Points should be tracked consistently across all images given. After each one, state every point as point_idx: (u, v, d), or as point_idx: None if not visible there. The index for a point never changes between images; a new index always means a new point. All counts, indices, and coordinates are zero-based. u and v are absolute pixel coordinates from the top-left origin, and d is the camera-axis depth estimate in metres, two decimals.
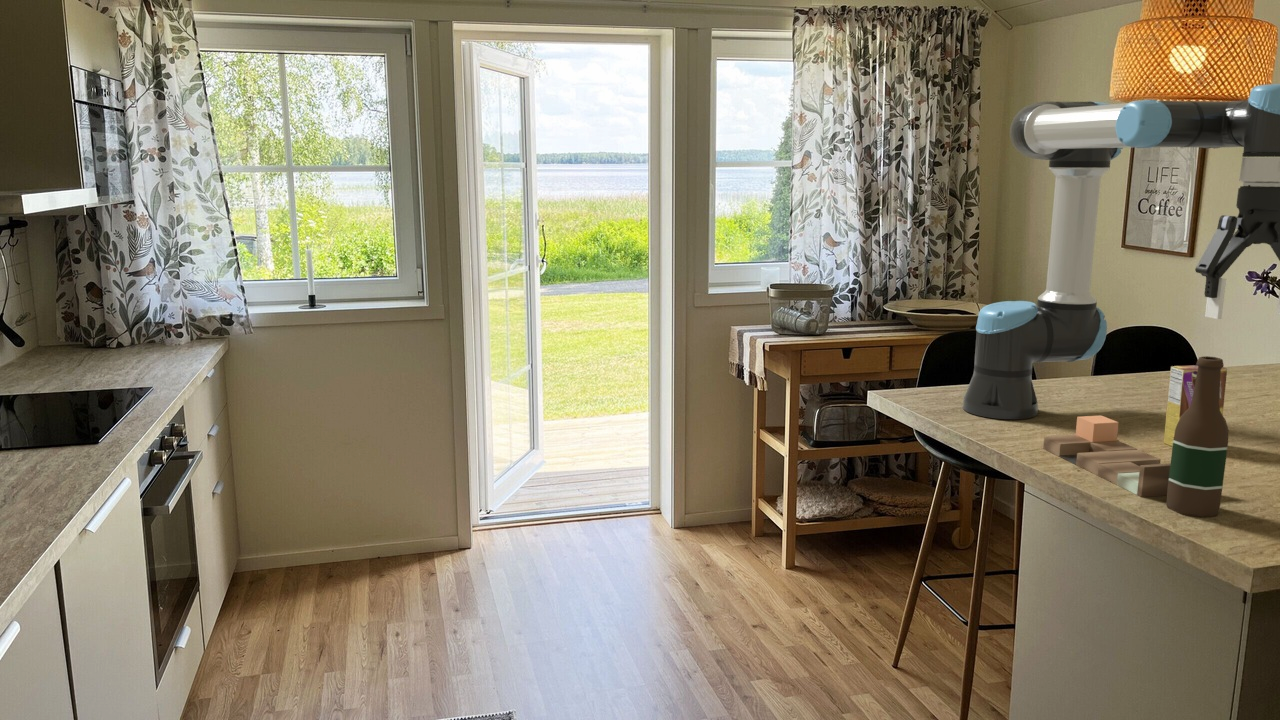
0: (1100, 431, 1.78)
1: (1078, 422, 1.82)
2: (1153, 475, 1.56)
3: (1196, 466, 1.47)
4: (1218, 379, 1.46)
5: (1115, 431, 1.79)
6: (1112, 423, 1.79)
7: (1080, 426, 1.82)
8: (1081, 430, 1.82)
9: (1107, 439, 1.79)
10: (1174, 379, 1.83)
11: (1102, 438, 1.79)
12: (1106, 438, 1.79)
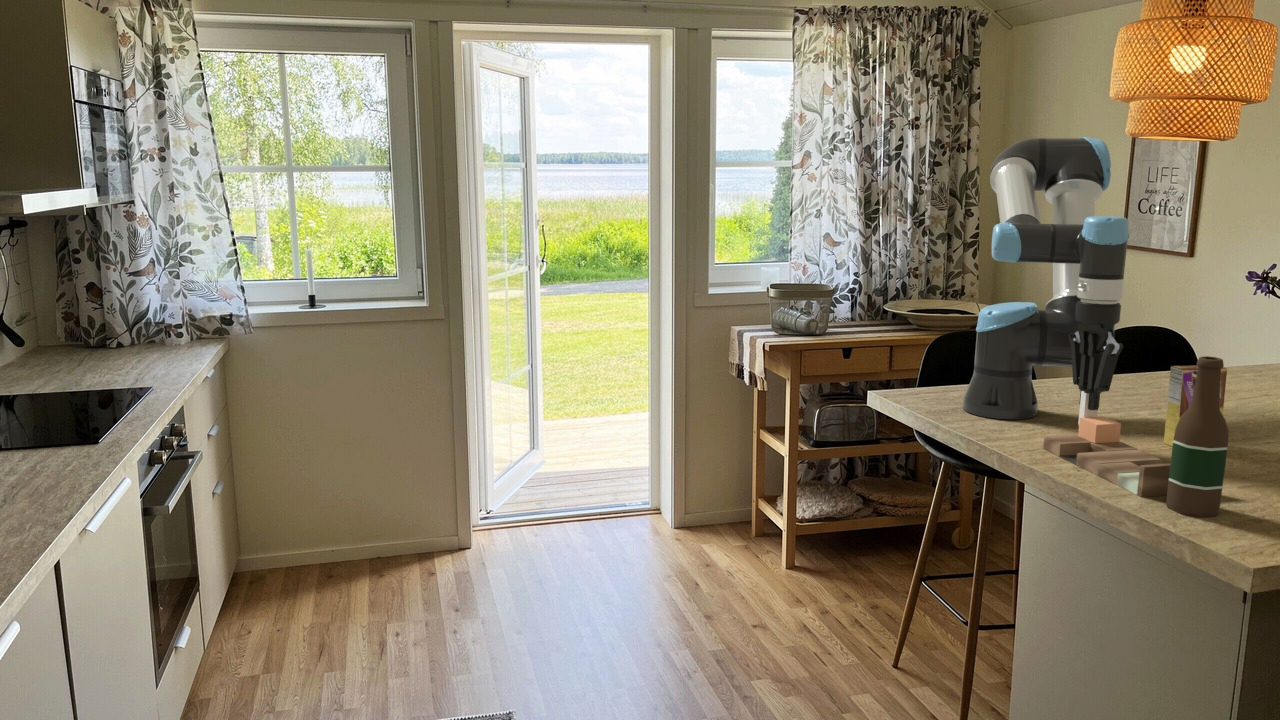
0: (1102, 432, 1.78)
1: (1080, 423, 1.82)
2: (1153, 475, 1.56)
3: (1196, 466, 1.47)
4: (1218, 379, 1.46)
5: (1117, 432, 1.78)
6: (1115, 424, 1.78)
7: (1083, 427, 1.81)
8: (1083, 431, 1.81)
9: (1110, 440, 1.78)
10: (1174, 378, 1.83)
11: (1104, 439, 1.78)
12: (1109, 439, 1.78)
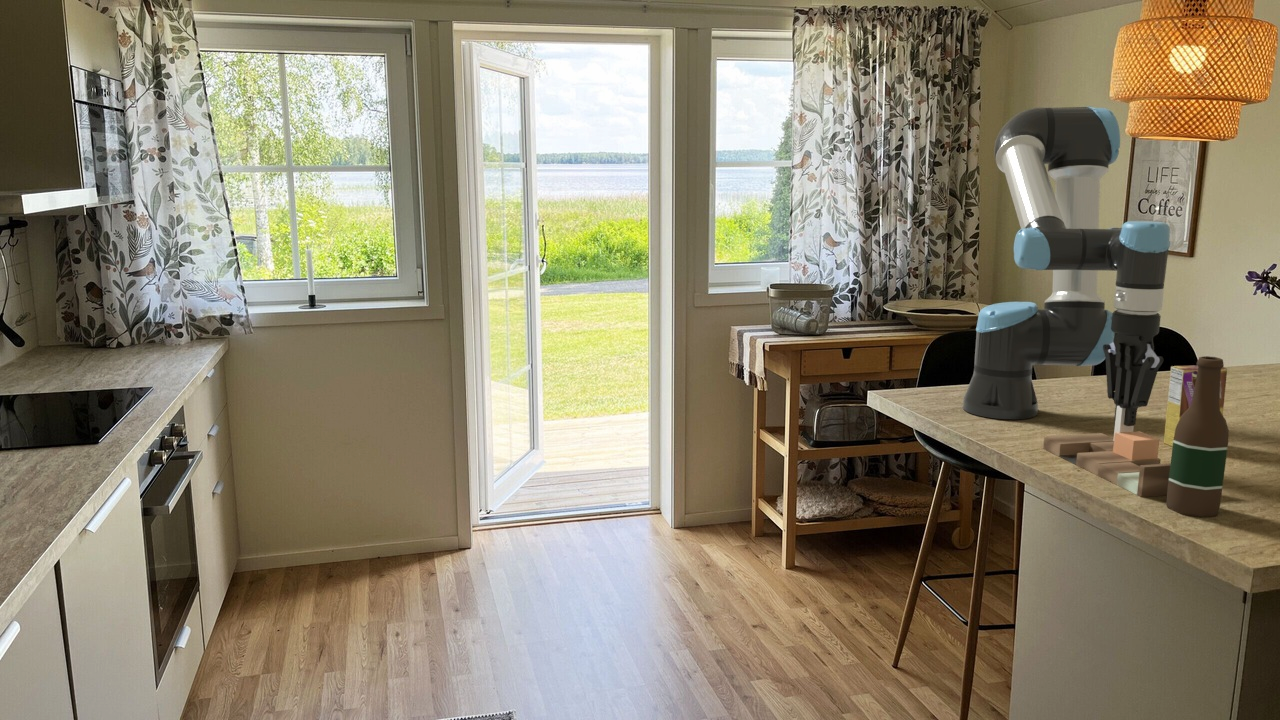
0: (1140, 448, 1.68)
1: (1116, 439, 1.72)
2: (1153, 475, 1.56)
3: (1196, 466, 1.47)
4: (1218, 379, 1.46)
5: (1155, 449, 1.69)
6: (1153, 440, 1.69)
7: (1118, 443, 1.72)
8: (1119, 447, 1.72)
9: (1147, 457, 1.69)
10: (1174, 378, 1.83)
11: (1142, 456, 1.69)
12: (1146, 456, 1.69)
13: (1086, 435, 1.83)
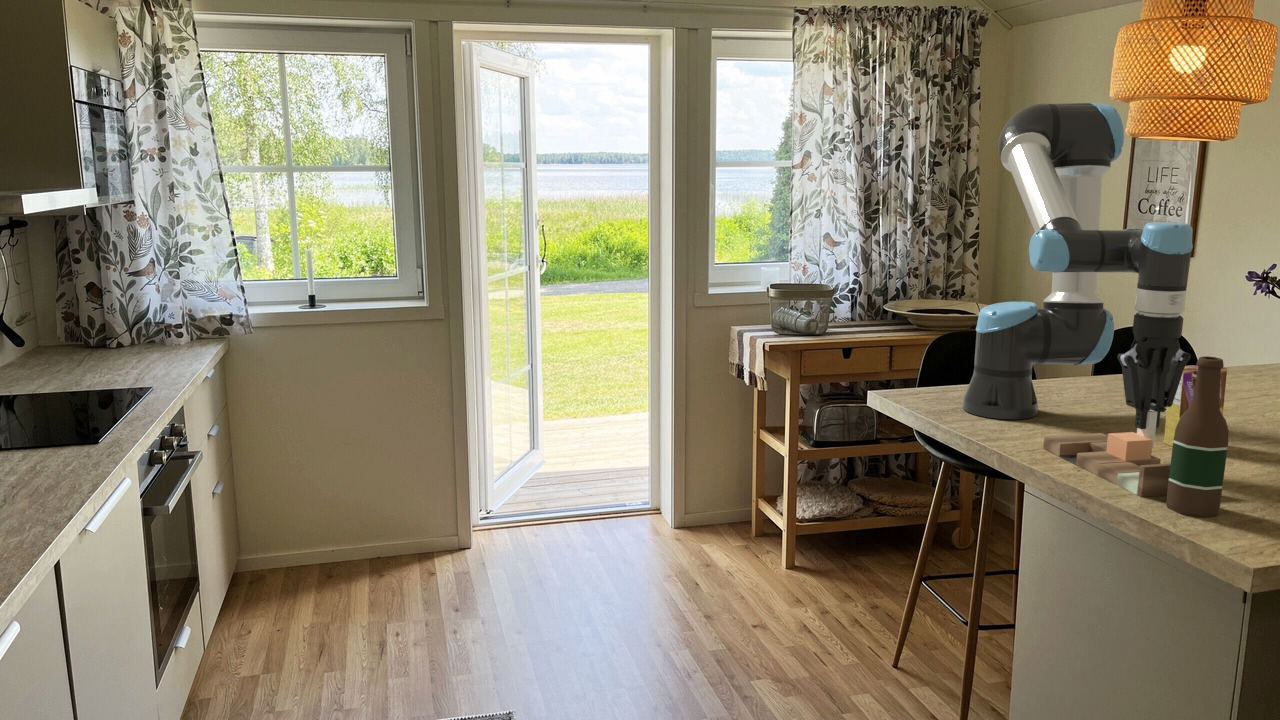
0: (1133, 449, 1.68)
1: (1109, 439, 1.72)
2: (1153, 475, 1.56)
3: (1196, 466, 1.47)
4: (1218, 379, 1.46)
5: (1149, 449, 1.69)
6: (1146, 441, 1.68)
7: (1111, 444, 1.71)
8: (1112, 448, 1.71)
9: (1141, 458, 1.69)
10: None
11: (1135, 457, 1.68)
12: (1140, 456, 1.69)
13: (1086, 435, 1.83)
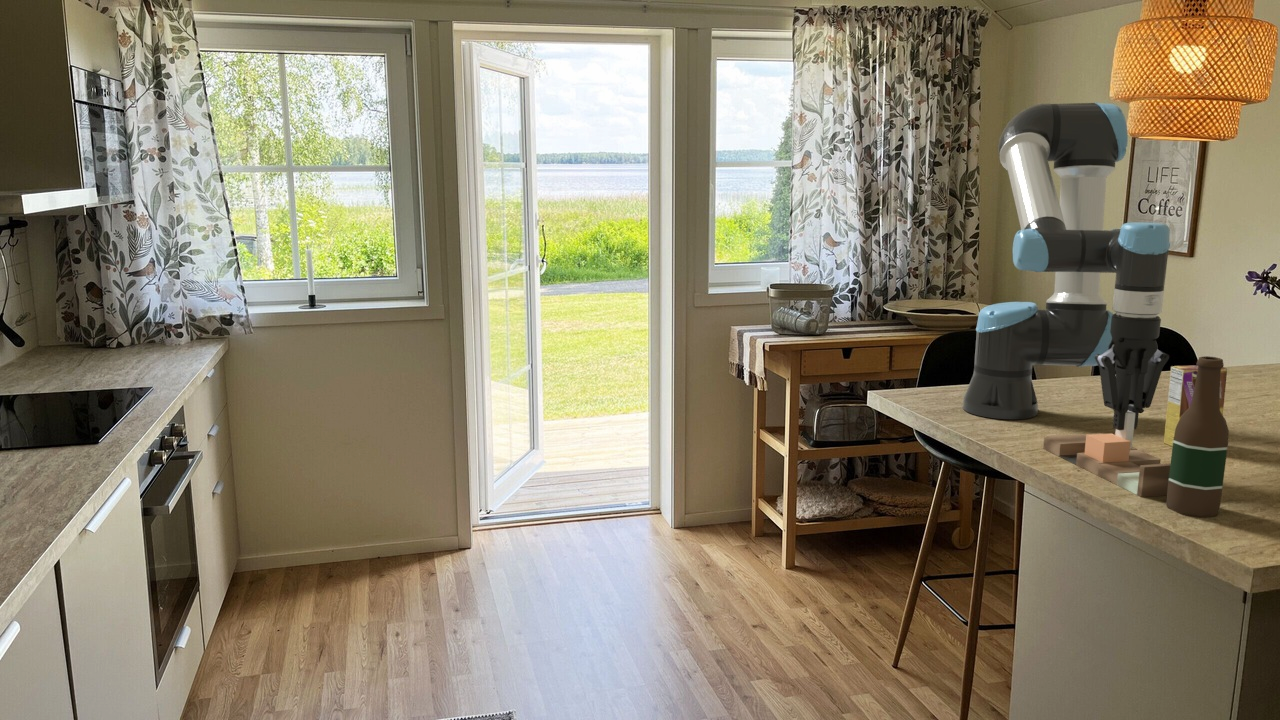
0: (1111, 450, 1.67)
1: (1087, 441, 1.71)
2: (1153, 475, 1.56)
3: (1196, 466, 1.47)
4: (1218, 379, 1.46)
5: (1127, 451, 1.68)
6: (1124, 442, 1.67)
7: (1089, 445, 1.71)
8: (1090, 449, 1.70)
9: (1118, 459, 1.68)
10: (1174, 378, 1.83)
11: (1113, 458, 1.68)
12: (1117, 458, 1.68)
13: None
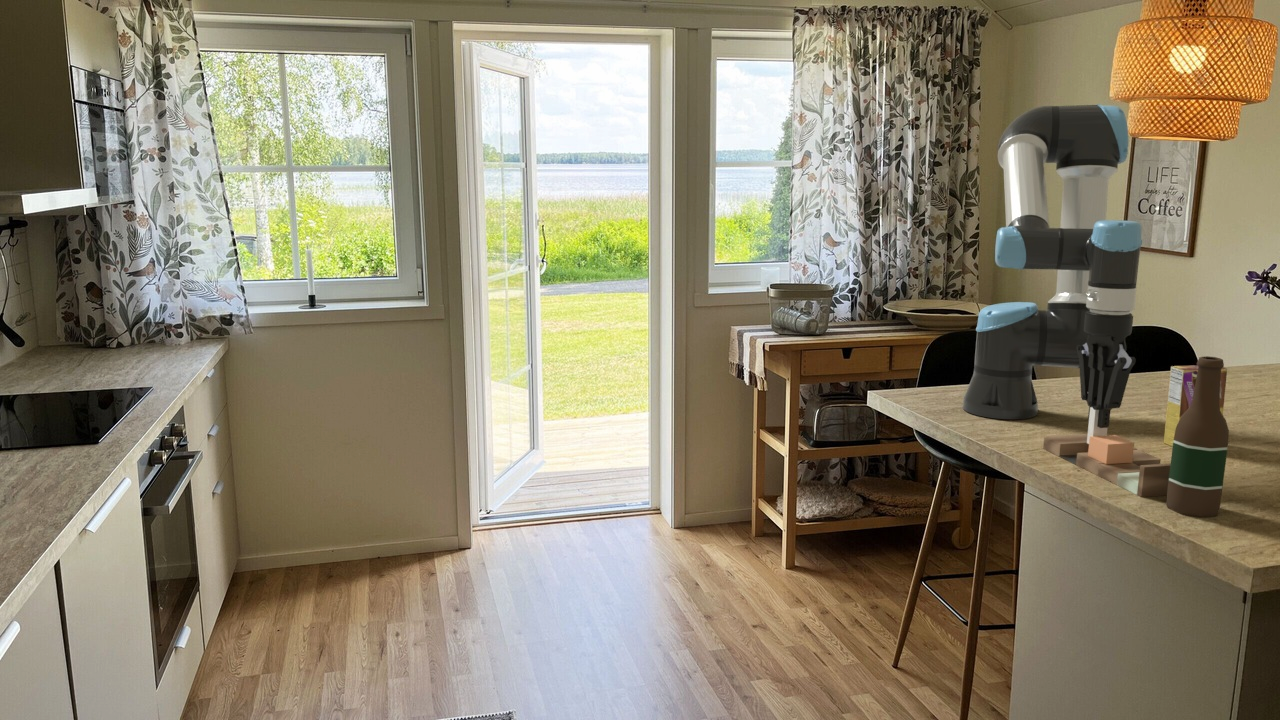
0: (1114, 452, 1.66)
1: (1091, 442, 1.70)
2: (1153, 475, 1.56)
3: (1196, 466, 1.47)
4: (1218, 379, 1.46)
5: (1130, 452, 1.67)
6: (1127, 444, 1.66)
7: (1093, 447, 1.70)
8: (1094, 451, 1.69)
9: (1122, 461, 1.67)
10: (1174, 378, 1.83)
11: (1117, 460, 1.67)
12: (1121, 459, 1.67)
13: (1086, 435, 1.83)
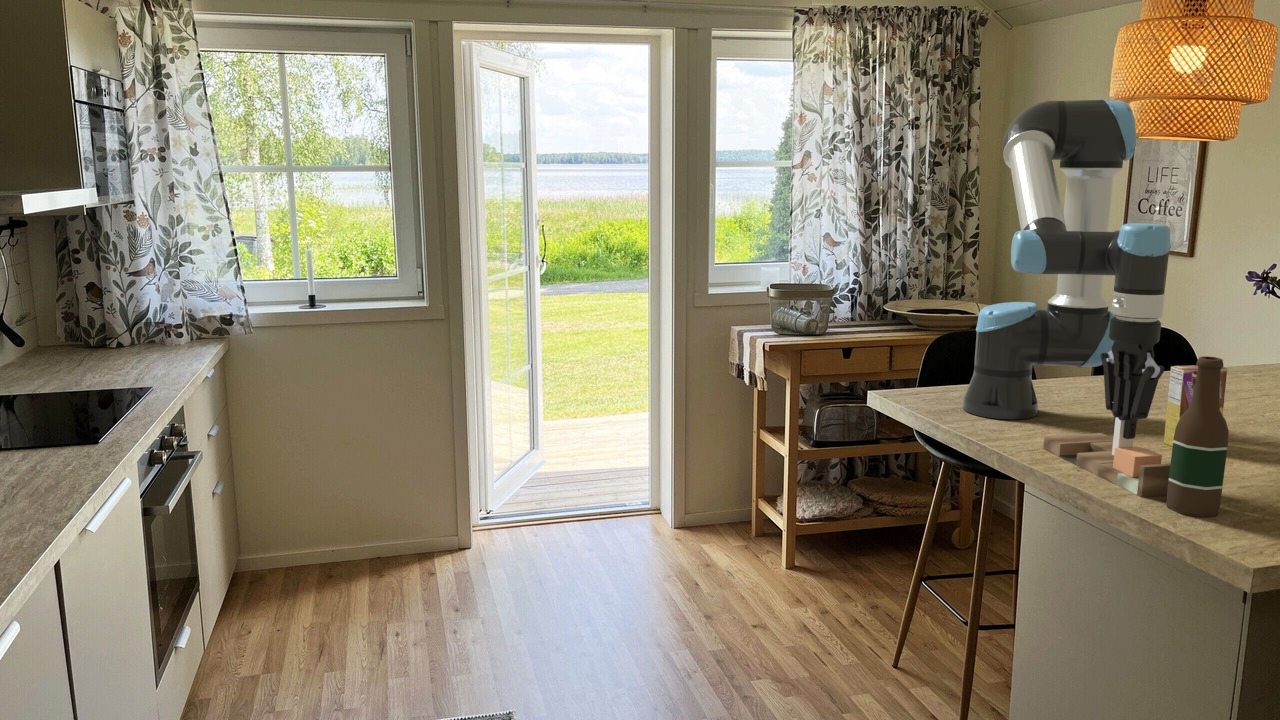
0: None
1: (1116, 454, 1.64)
2: (1153, 475, 1.56)
3: (1196, 466, 1.47)
4: (1218, 379, 1.46)
5: None
6: (1155, 456, 1.60)
7: (1118, 459, 1.63)
8: (1119, 463, 1.63)
9: None
10: (1174, 378, 1.83)
11: None
12: None
13: (1086, 435, 1.83)
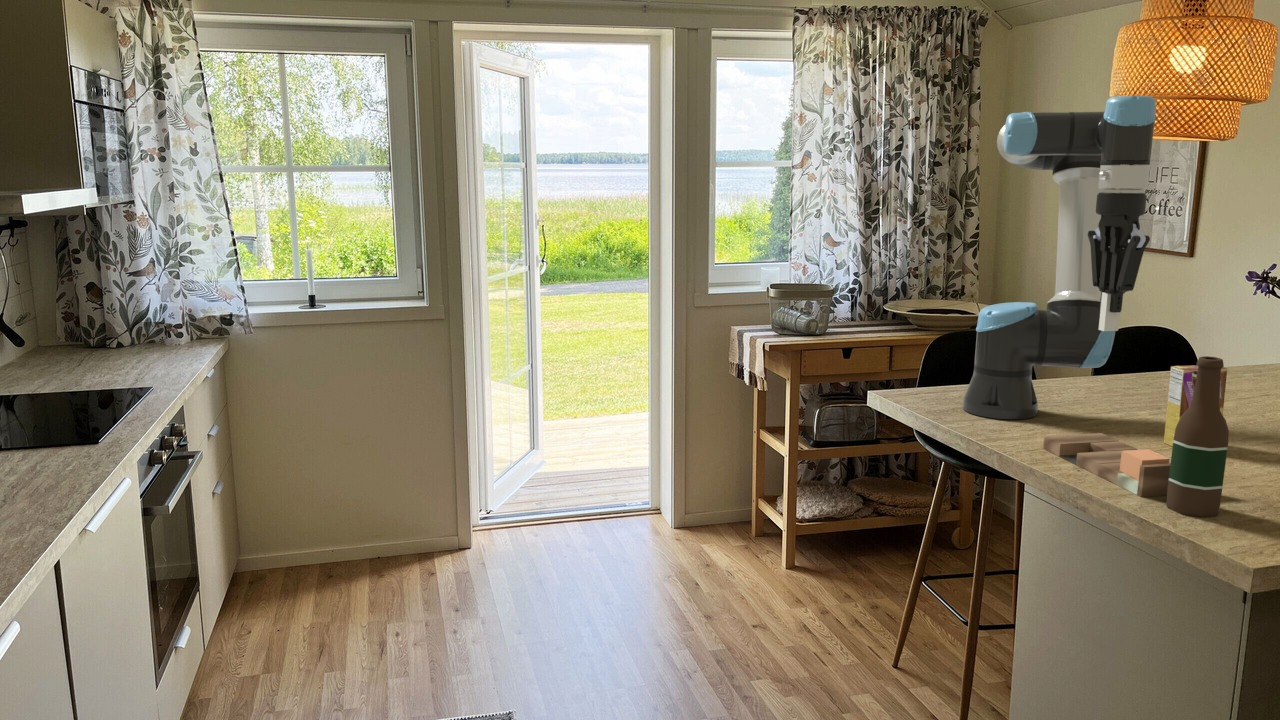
0: None
1: (1123, 457, 1.62)
2: (1153, 475, 1.56)
3: (1196, 466, 1.47)
4: (1218, 379, 1.46)
5: None
6: (1162, 460, 1.58)
7: (1125, 462, 1.62)
8: (1126, 466, 1.61)
9: None
10: (1174, 378, 1.83)
11: None
12: None
13: (1086, 435, 1.83)
